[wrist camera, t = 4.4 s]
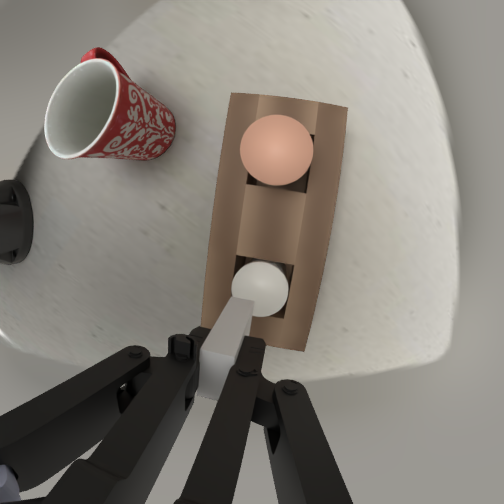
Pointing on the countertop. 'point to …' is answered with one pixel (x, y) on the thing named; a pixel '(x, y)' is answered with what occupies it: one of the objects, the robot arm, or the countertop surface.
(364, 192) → the countertop surface
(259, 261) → the cream plug
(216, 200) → the walnut block
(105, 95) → the mug
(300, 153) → the terracotta plug
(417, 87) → the countertop surface
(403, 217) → the countertop surface
